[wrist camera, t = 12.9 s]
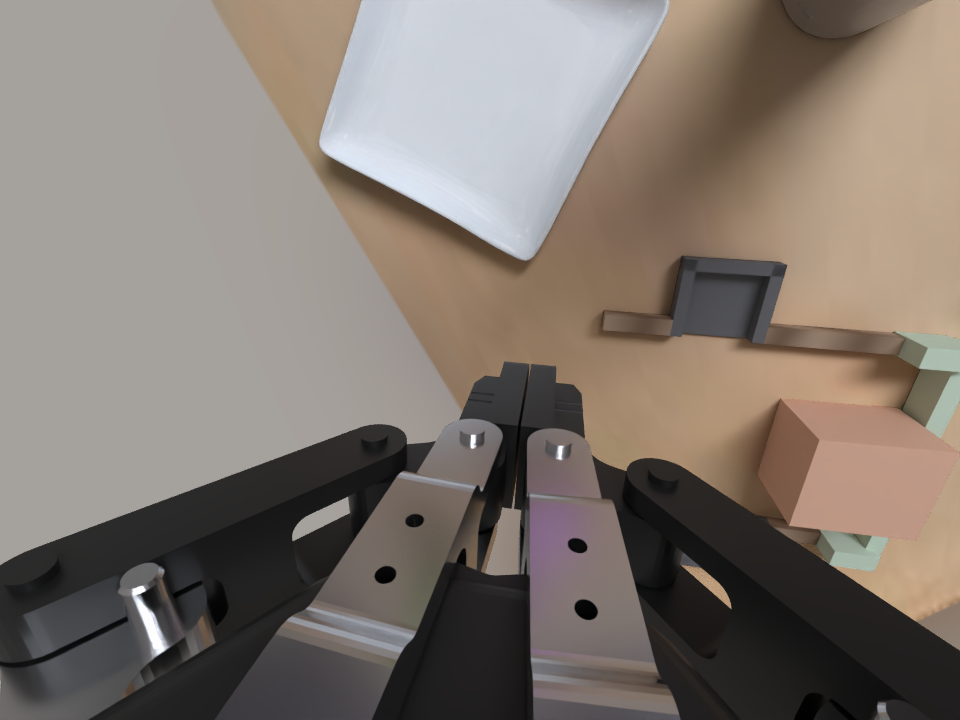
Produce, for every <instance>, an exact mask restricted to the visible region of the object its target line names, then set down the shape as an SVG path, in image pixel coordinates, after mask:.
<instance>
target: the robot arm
mask: <svg viewBox="0 0 960 720" xmlns="http://www.w3.org/2000/svg"><path fill="white" fill-rule="evenodd" d="M929 1H932V0H782V2H783V4H784V7H785V9H786V12H787V14H788V15H789V17H790V18H791V19H792V21H793V22H794V23H795V25H797V26H798V27H799V28H801V29H802V30H803V31H805V32H806V33H809V34H811V35H814V36H817V37H821V38H830V39H835V38H843V37H849V36H852V35H855V34H858V33H861V32H864V31H866V30H868V29H870V28H873V27H875V26H877V25H879V24H881V23H883V22H886V21H888V20H890V19H892V18H894V17H896V16H899V15H901V14H903V13H906V12H908V11H910V10H912V9H914V8H916V7H919V6H921V5H923V4H925V3H927V2H929ZM528 378H529V381H528ZM516 477H517V481H516ZM515 483H516V493H515V506H514V509H519V510H521V520H520V532H519V556H518V557H519V558H518V575H499V576H494V575H488V574H485V571H486V568H487V564H488V561H489V557H490V554H491V550H492V547H493V544H494V541H495V537H496V533H497V522H498V520H499V518H500V515H501V510H502V507H504V508H512V502H513V496H514V490H515ZM346 497H348V498H349V507H350V514H348V515H345V516H344V517H341V518H339V519H337V520H335V521H333V522H331V523H329V524H327V525H325V526H323V527H321V528H319V529H317V530H315V531H313V532H311V533H309V534H307V535H305V536H303V537H301V538H299V539H297V540H295V541H292V533H293V530H294V528H295V527H296V525H297V524H298V523H299V522H300V521H301V520H302V519H303V518H304V517H306V516H308V515H310V514H312V513H314V512H316V511H318V510H320V509H322V508H324V507H327V506H329V505H331V504H333V503H335V502H337V501H339V500H342V499H344V498H346ZM683 553H684V554H686V555H687V556H688V557H689V558H690V559H692V560H693V561H694V562H695V563H696V564H698V565H699V566H700V567H701V568H702V569H703V570H705V571H706V572H707V573H708V574H709V575H711V576H712V577H713V578H714V579H715V580H716V581H717V582H719V583H720V585H721V586H722V587H723V588H724V590H725V591H726V593H727V595H728V597H729V599H730V602H731V607H732V610H731V609H730V608H729V607H728V606H727V605H726V604H724V603H723V602H722V601H721V600H720V599H719V598H718V597H716V596H715V595H714V594H713V593H712V592H711V591H710V590H708V589H707V588H706V587H705V586H704V585H703V584H702V583H700V582H699V581H698V580H697V579H696V578H695V577H694V576H693V575H691V574H690V573H689V572H688V571H687V570H686V569H685V568H683V567H682V566H681V565H680V562H681V559H682V555H683ZM0 680H1V691H0V720H960V651H959V650H958V649H956V648H955V647H953V646H952V645H950V644H949V643H947V642H946V641H944V640H943V639H941V638H940V637H938V636H937V635H935V634H934V633H932V632H931V631H929V630H928V629H926V628H925V627H923V626H921V625H920V624H919V623H917V622H916V621H914V620H913V619H911V618H910V617H908V616H907V615H905V614H904V613H902V612H901V611H899V610H898V609H896V608H895V607H893V606H891V605H890V604H888V603H887V602H885V601H884V600H882V599H881V598H879V597H878V596H876V595H875V594H873V593H872V592H870V591H869V590H867V589H866V588H864V587H863V586H861V585H860V584H858V583H857V582H855V581H854V580H852V579H851V578H849V577H848V576H846V575H845V574H843V573H842V572H840V571H839V570H837V569H836V568H834V567H833V566H831V565H830V564H828V563H827V562H825V561H824V560H822V559H821V558H819V557H818V556H816V555H815V554H813V553H811V552H810V551H808V550H807V549H805V548H804V547H802V546H801V545H799V544H798V543H796V542H795V541H793V540H792V539H790V538H789V537H787V536H786V535H784V534H783V533H781V532H780V531H778V530H777V529H775V528H774V527H772V526H771V525H769V524H768V523H766V522H765V521H763V520H762V519H760V518H759V517H757V516H756V515H754V514H753V513H751V512H750V511H748V510H747V509H745V508H744V507H742V506H741V505H739V504H738V503H736V502H735V501H733V500H731V499H730V498H728V497H727V496H725V495H724V494H722V493H721V492H719V491H718V490H716V489H715V488H713V487H712V486H710V485H709V484H707V483H706V482H704V481H703V480H701V479H700V478H698V477H697V476H695V475H694V474H692V473H691V472H689V471H688V470H686V469H685V468H683V467H681V466H679V465H677V464H675V463H672V462H669V461H666V460H661V459H654V458H644V459H639V460H636V461H634V462H632V463H631V464H630V465H629V466H628V468H627V471H624V470H621V469H618V468H615V467H612V466H609V465H607V464H605V463H603V462H601V461H599V460H598V459H596V458H595V457H594V456H593V455H592V453H591V449H590V446H589V444H588V442H587V441H586V440H585V435H584V422H583V408H582V395H581V393H580V392H579V391H578V389H577V388H576V387H575V386H574V385H571V384H561V383H556V366H546V365H535V364H531V369H530V375H529V364H525V363H514V362H504V365H503V368H502V372H501V375H500V377H492V376H484V377H483V378H481V379H480V380H478V381H477V382H475V384H474V386H473V388H472V391H471V393H470V396H469V398H468V401H467V403H466V405H465V407H464V410H463V412H462V414H461V417H460V419H459V420H458V421H455V422H453V423H451V424H449V425H447V426H446V427H445V428H444V430H443V431H442V433H441V434H440V436H439V438H438V439H437V441H434V442H429V443H419V444H407V438H406V435H405V433H404V432H403V431H402V430H400V429H399V428H397V427H394V426H391V425H383V424H377V425H376V424H375V425H368V426H364V427H360V428H358V429H355V430H352V431H349V432H347V433H344V434H341V435H339V436H336V437H333V438H331V439H328V440H325V441H323V442H320V443H317V444H314V445H312V446H309V447H306V448H304V449H301V450H298V451H295V452H293V453H290V454H288V455H285V456H282V457H279V458H277V459H274V460H271V461H269V462H266V463H263V464H261V465H258V466H255V467H252V468H250V469H247V470H244V471H242V472H239V473H236V474H234V475H231V476H228V477H225V478H223V479H220V480H218V481H215V482H212V483H209V484H207V485H204V486H201V487H198V488H196V489H193V490H190V491H188V492H185V493H182V494H179V495H177V496H174V497H171V498H169V499H166V500H163V501H161V502H158V503H155V504H153V505H150V506H147V507H144V508H142V509H139V510H136V511H134V512H131V513H128V514H126V515H123V516H120V517H117V518H115V519H112V520H110V521H107V522H104V523H101V524H99V525H96V526H93V527H90V528H88V529H85V530H82V531H80V532H77V533H74V534H72V535H69V536H66V537H63V538H61V539H58V540H55V541H53V542H50V543H47V544H45V545H42V546H39V547H37V548H34V549H31V550H29V551H27V552H24V553H22V554H20V555H18V556H16V557H14V558H12V559H10V560H8V561H7V562H5V563H3V564H2V565H0Z"/></svg>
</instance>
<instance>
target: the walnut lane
mask: <svg viewBox="0 0 960 720" xmlns="http://www.w3.org/2000/svg"><path fill="white" fill-rule="evenodd" d="M672 324H673V319H672V318H671V317H670V315H657V314H645V313H632V312H619V311H606V310H604V313H603V320H602V328H603V330H606V331H618V332H629V333H641V334H653V335H665V336H670V333H671V328H672ZM904 342H905V338H903V337H901V336H899V335H897V334H895V333H887V332H874V331H861V330H849V329H836V328H823V327H810V326H798V325H785V324H772V323H770V325H769V328H768V331H767V334H766V338H765V341H764V344H771V345H783V346H795V347H807V348H818V349H830V350H842V351H854V352H866V353H878V354H889V355H899V353H900V351H901V349H902V346H903V344H904ZM766 518H767V520H768V521H769V523H770V525H771V526H772V527H774V528H775V529H777V530H778V531H780V532H781V533H783V534H784V535H786V536H787V537H789V538H790V539H792V540H793V541H795V542H800V543H807V544H814V545H817V543H818V541H819V538H820V536H821V533H820V531H819V530H818V529H812V528H803V527H795V526H789V525H788V523H787V522H786V520H784V519H777V518H769V517H766Z"/></svg>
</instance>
